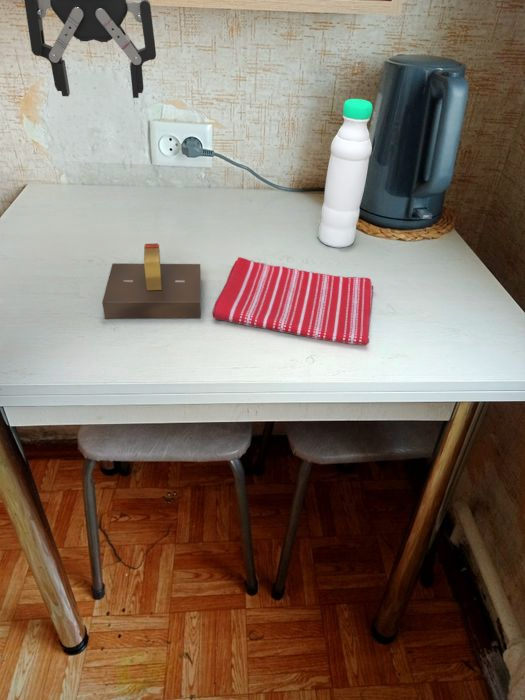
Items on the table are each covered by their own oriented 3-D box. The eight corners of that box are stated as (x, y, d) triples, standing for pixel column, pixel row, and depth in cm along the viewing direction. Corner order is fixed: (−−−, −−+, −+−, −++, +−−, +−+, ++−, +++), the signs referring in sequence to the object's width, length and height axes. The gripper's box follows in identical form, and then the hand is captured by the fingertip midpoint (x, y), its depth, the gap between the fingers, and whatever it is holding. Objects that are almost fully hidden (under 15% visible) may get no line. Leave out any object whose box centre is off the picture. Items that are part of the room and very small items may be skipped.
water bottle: (312, 243, 97) (332, 102, 81) (323, 228, 102) (343, 93, 86) (348, 252, 95) (375, 109, 79) (357, 236, 100) (384, 100, 84)
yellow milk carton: (161, 290, 76) (159, 259, 73) (146, 290, 76) (143, 259, 73) (161, 272, 80) (159, 242, 77) (147, 273, 80) (144, 243, 76)
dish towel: (237, 266, 89) (237, 253, 87) (373, 289, 86) (376, 275, 84) (208, 322, 76) (208, 308, 74) (367, 351, 73) (370, 336, 71)
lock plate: (104, 319, 75) (101, 301, 73) (114, 279, 83) (112, 262, 81) (200, 318, 76) (200, 301, 74) (200, 279, 85) (200, 262, 83)
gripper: (1, -75, 50) (37, 103, 60) (148, -64, 53) (159, 105, 63) (15, -75, 56) (46, 87, 66) (148, -65, 58) (158, 89, 69)
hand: (101, 95), depth 65 cm, fingers open, 8 cm apart
